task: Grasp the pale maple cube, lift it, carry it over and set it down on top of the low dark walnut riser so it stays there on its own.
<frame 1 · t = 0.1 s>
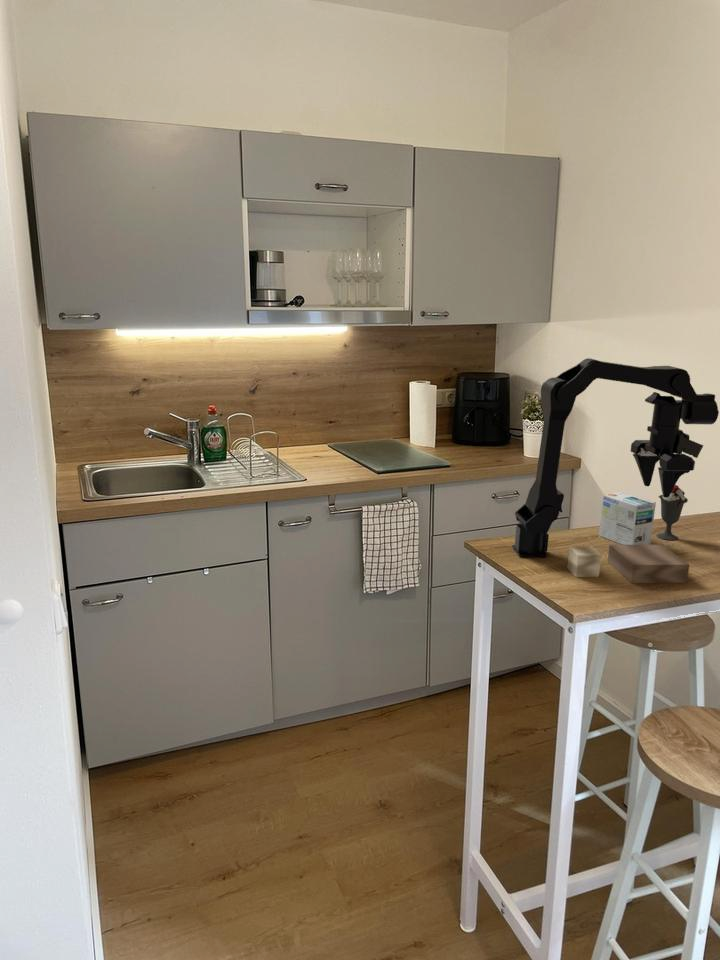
hand: (656, 491, 165), 15 cm above the table, fingers open, 9 cm apart
maple cube: (582, 572, 155), on the table
sundae: (667, 537, 179), on the table
walnut riser: (645, 571, 156), on the table
light bulb box: (623, 541, 176), on the table
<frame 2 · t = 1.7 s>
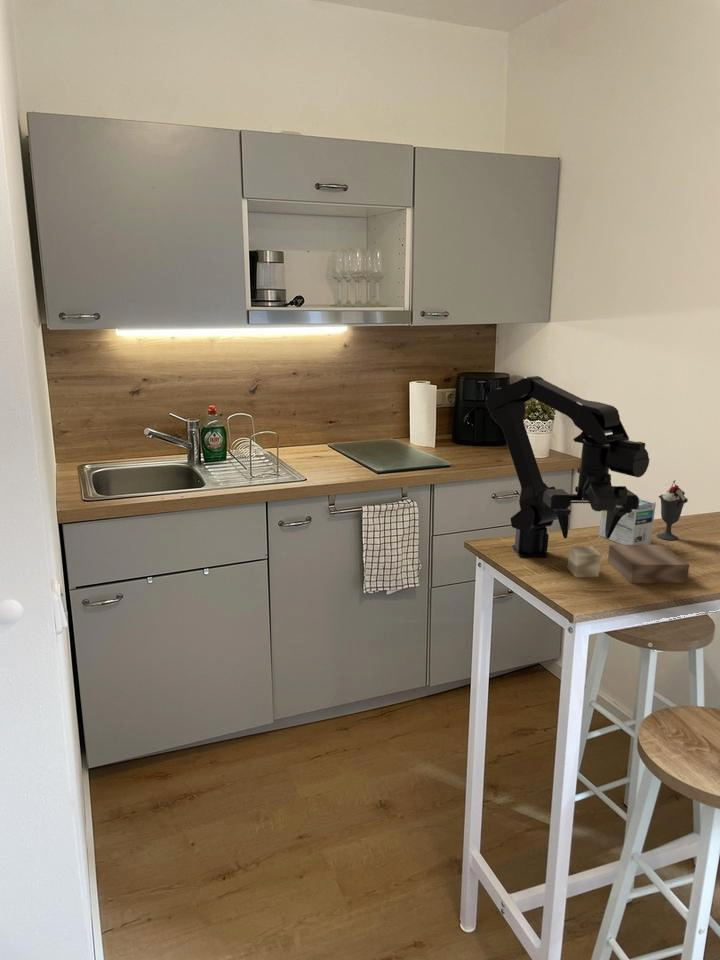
hand: (586, 537, 153), 8 cm above the table, fingers open, 9 cm apart
nothing on the table moved.
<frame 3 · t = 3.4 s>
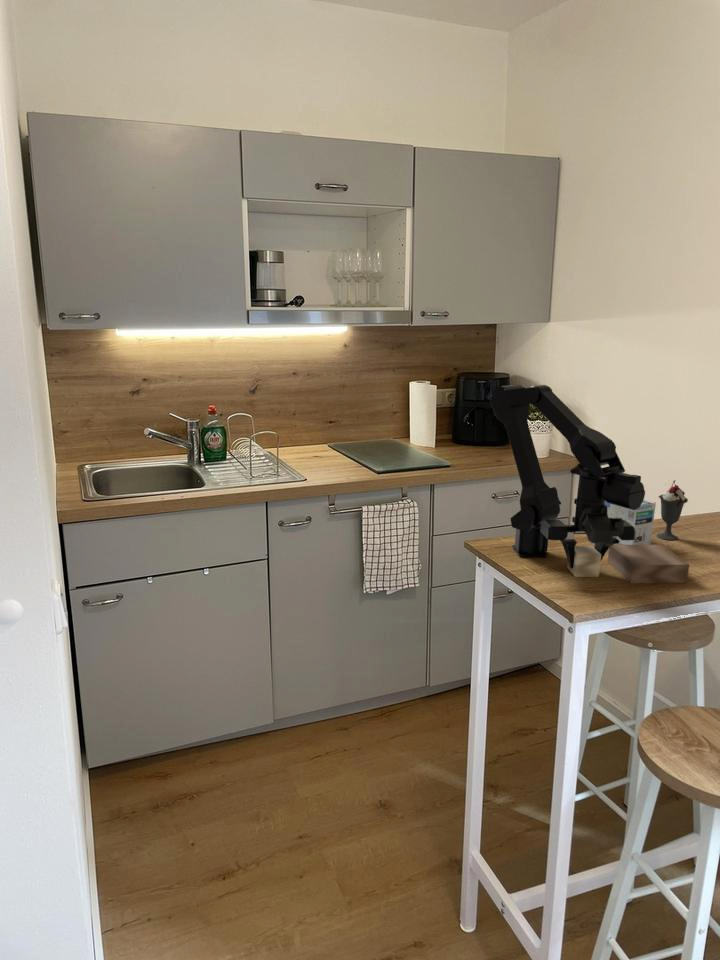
hand: (583, 567, 155), 1 cm above the table, fingers closed on maple cube, 5 cm apart
maple cube: (582, 572, 155), on the table, touching gripper
everything else where it was.
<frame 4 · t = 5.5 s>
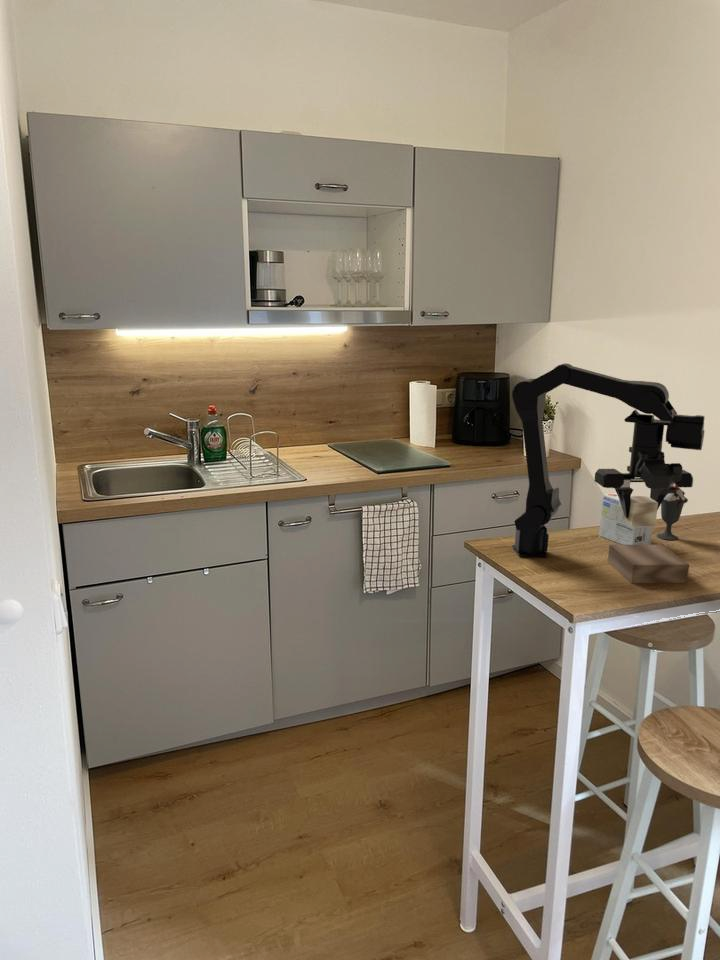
hand: (639, 517, 152), 12 cm above the table, fingers closed on maple cube, 5 cm apart
maple cube: (638, 522, 153), point 11 cm above the table, touching gripper
everything else where it was.
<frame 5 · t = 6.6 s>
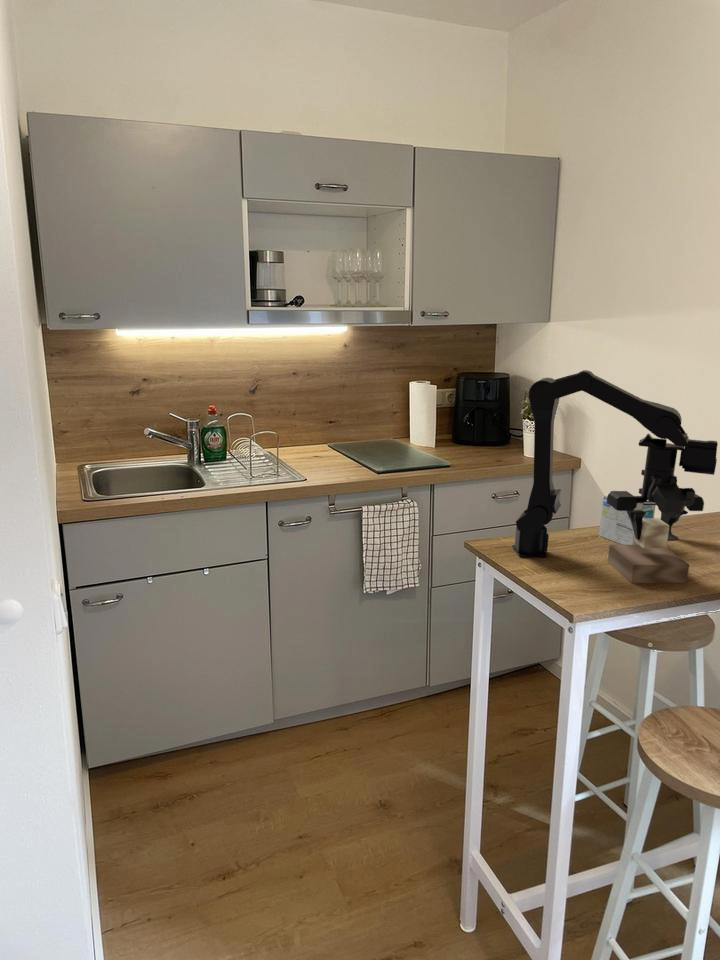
hand: (649, 539, 154), 7 cm above the table, fingers closed on maple cube, 5 cm apart
maple cube: (649, 544, 155), point 6 cm above the table, touching gripper
everything else where it was.
when the fingers open (6 cm above the table, at t = 7.6 s): maple cube drops 1 cm, resting on walnut riser.
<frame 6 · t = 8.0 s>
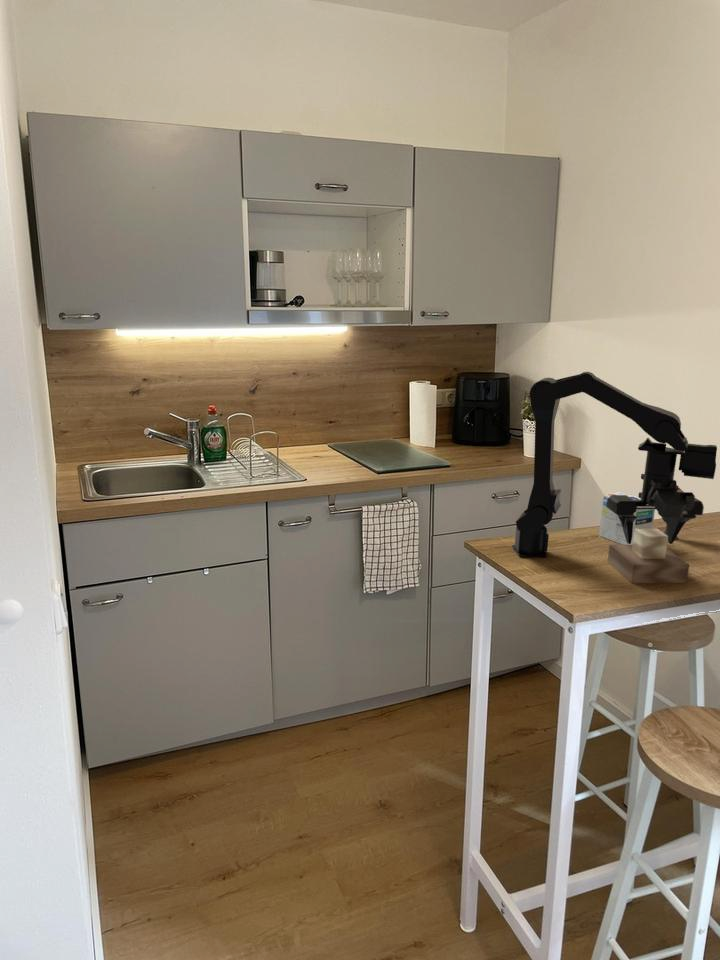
hand: (649, 543, 155), 6 cm above the table, fingers open, 9 cm apart
maple cube: (648, 554, 155), point 4 cm above the table, touching walnut riser
everything else where it was.
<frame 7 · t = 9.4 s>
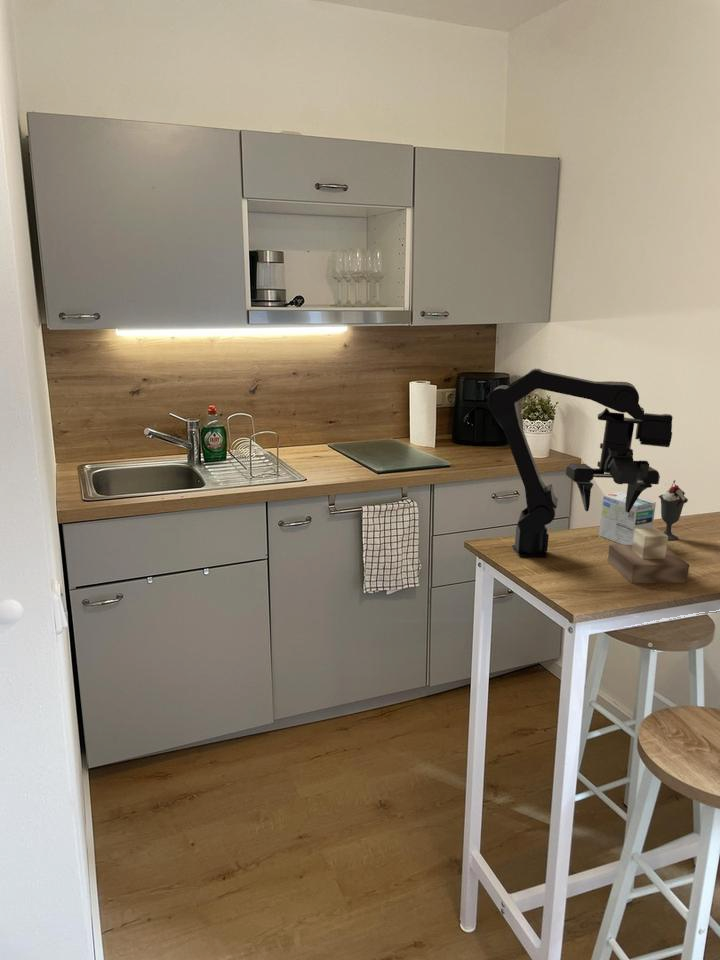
hand: (606, 511, 159), 12 cm above the table, fingers open, 9 cm apart
nothing on the table moved.
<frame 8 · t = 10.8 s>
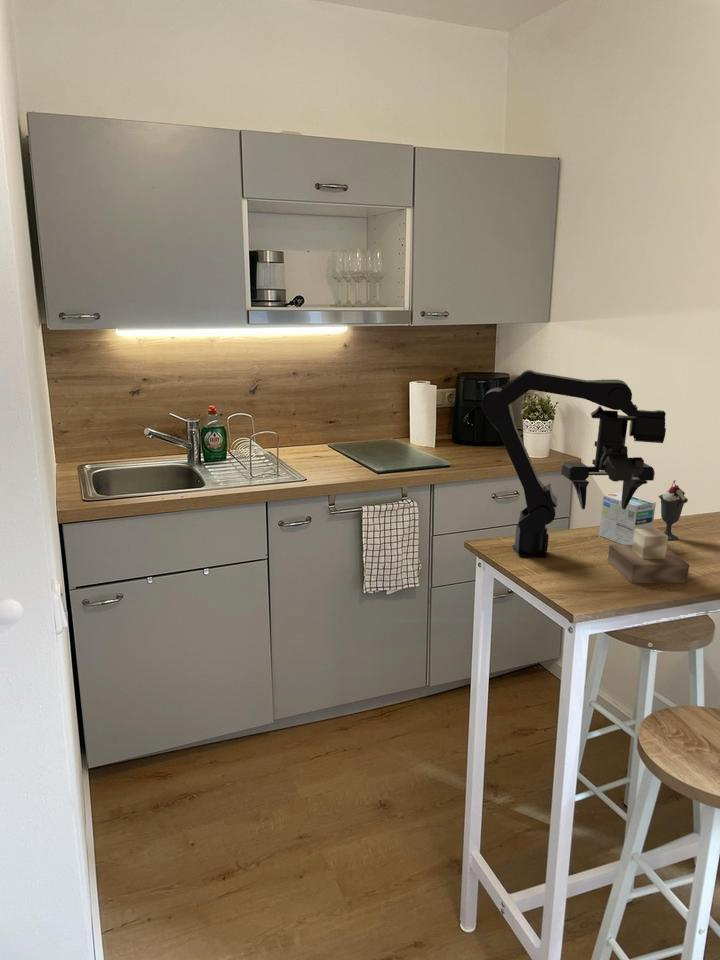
hand: (603, 508, 159), 12 cm above the table, fingers open, 9 cm apart
nothing on the table moved.
at the end: maple cube inside the target area on the walnut riser (0.1 cm from its centre), point 4.0 cm above the walnut riser's base; maple cube tilted 0°; the gripper is holding nothing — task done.
